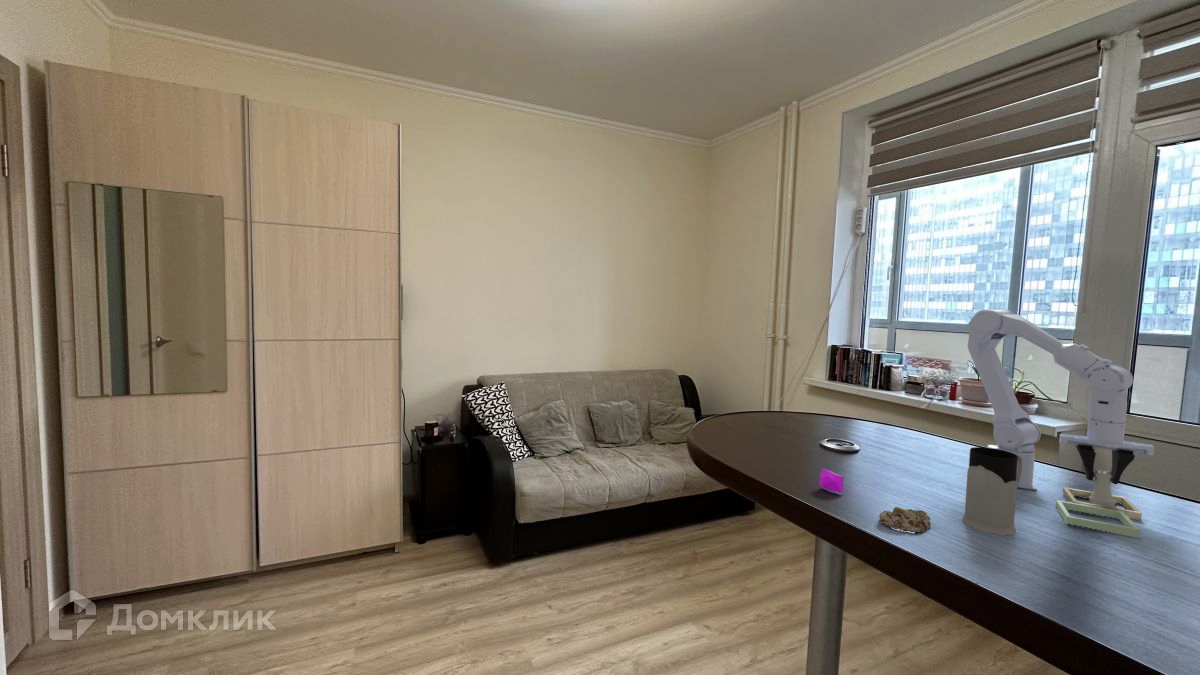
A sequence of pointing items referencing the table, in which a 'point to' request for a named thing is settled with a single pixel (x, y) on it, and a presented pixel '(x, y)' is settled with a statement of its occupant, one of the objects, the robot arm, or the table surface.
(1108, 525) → the sage square frame
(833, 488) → the crystal
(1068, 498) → the beige square frame
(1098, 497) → the rook chess piece
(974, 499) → the beige black oval cylinder
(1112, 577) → the table surface
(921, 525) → the mineral rock
